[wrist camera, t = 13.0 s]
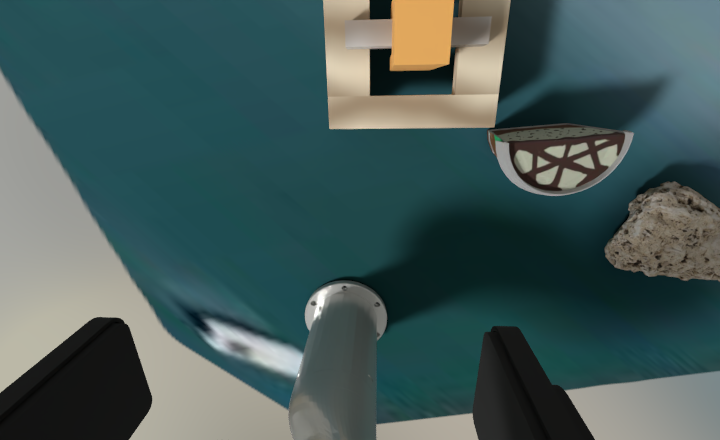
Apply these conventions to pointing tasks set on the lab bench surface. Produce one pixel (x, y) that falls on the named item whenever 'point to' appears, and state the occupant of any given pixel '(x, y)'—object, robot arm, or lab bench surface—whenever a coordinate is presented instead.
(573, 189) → the food container
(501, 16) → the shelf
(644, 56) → the lab bench surface
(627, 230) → the pumice stone
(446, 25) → the tall wooden brick
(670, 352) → the lab bench surface
